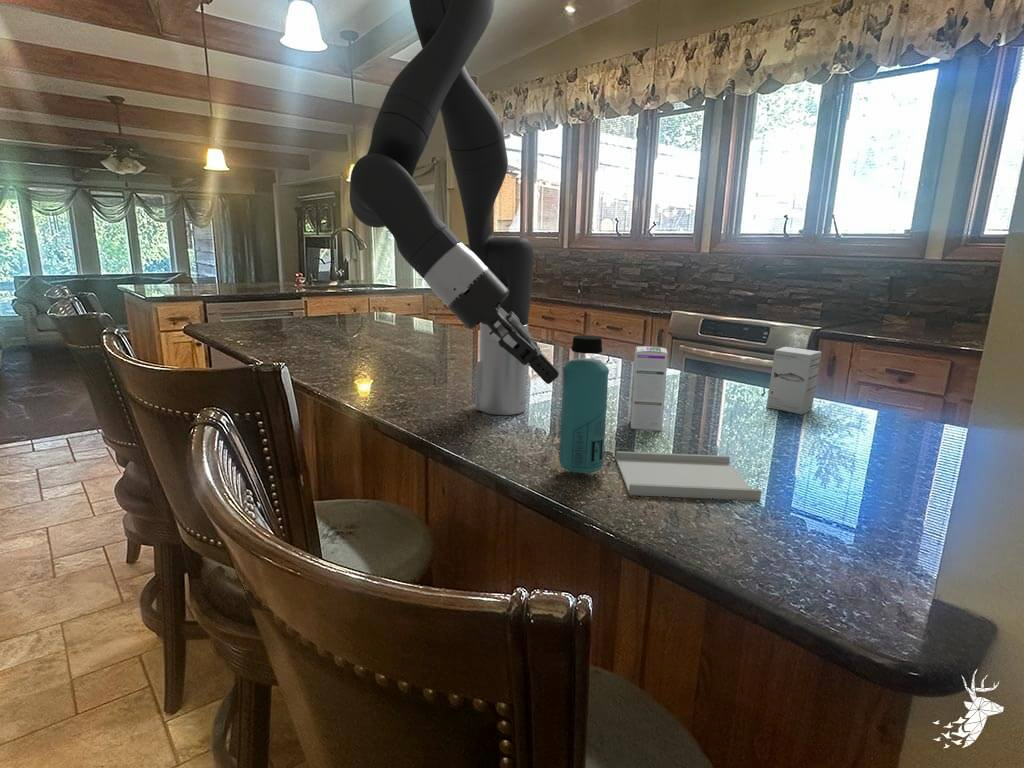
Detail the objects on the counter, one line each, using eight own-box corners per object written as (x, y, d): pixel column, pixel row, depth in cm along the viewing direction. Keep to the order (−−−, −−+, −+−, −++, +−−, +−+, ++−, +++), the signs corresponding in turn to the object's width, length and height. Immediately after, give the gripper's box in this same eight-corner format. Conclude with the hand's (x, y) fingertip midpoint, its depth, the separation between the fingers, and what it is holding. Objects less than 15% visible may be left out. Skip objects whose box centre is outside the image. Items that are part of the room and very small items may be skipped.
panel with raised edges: (629, 495, 75) (630, 485, 75) (615, 459, 88) (616, 451, 87) (760, 500, 74) (761, 490, 74) (727, 464, 87) (728, 455, 87)
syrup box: (662, 431, 102) (670, 352, 99) (629, 429, 103) (635, 350, 100) (661, 422, 108) (668, 347, 104) (629, 420, 109) (635, 345, 106)
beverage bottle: (591, 487, 77) (601, 341, 72) (548, 476, 80) (555, 335, 76) (610, 472, 82) (620, 335, 78) (569, 462, 86) (576, 330, 81)
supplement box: (765, 408, 121) (773, 349, 118) (777, 402, 126) (785, 345, 123) (802, 415, 116) (811, 354, 113) (813, 409, 121) (822, 350, 118)
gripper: (453, 301, 83) (534, 385, 85) (438, 310, 70) (533, 409, 73) (490, 265, 82) (571, 352, 84) (481, 267, 69) (577, 370, 71)
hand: (553, 378), depth 78 cm, fingers closed
